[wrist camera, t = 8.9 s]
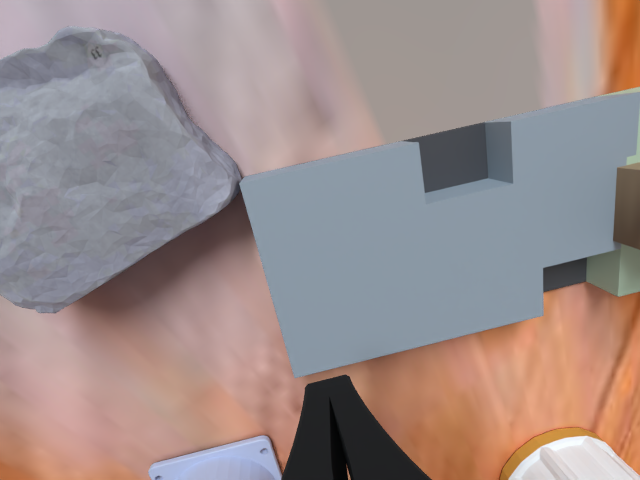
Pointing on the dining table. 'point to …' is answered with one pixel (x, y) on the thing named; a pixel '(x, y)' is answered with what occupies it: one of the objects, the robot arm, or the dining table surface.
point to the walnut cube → (627, 206)
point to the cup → (566, 458)
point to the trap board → (444, 230)
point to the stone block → (95, 166)
